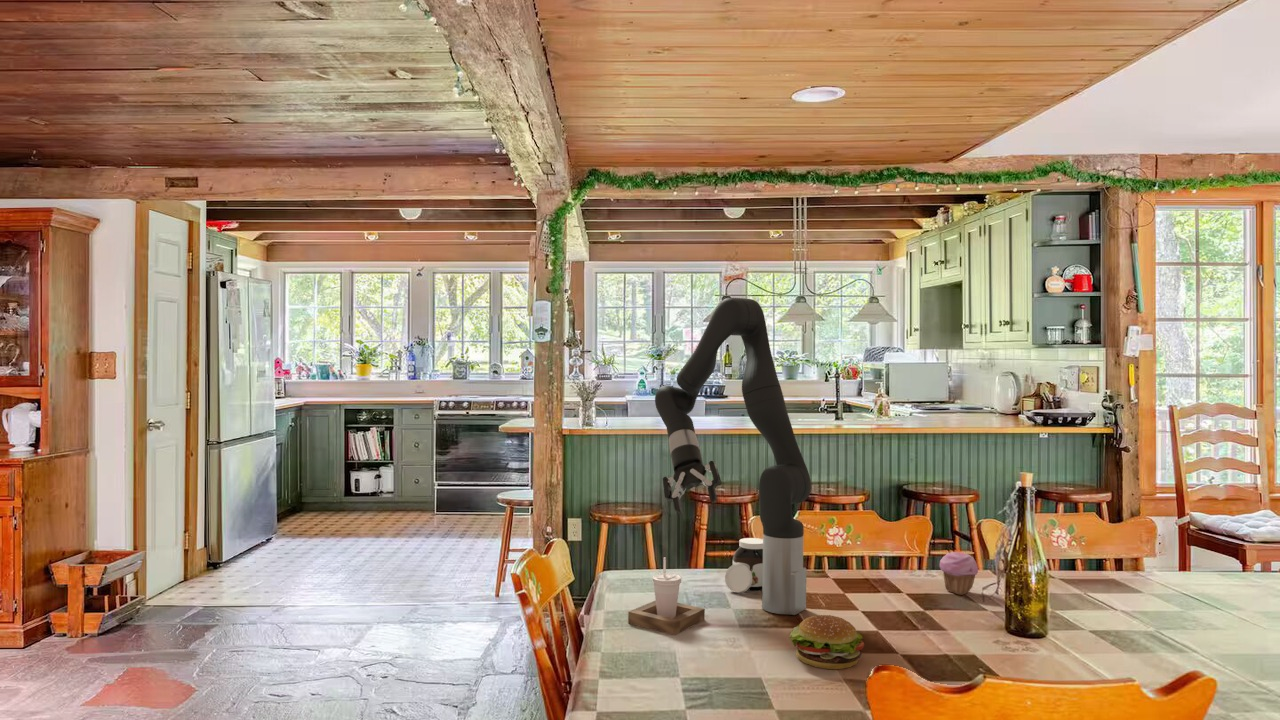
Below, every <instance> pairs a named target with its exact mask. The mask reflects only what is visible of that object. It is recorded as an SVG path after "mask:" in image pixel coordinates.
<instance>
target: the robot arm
mask: <svg viewBox="0 0 1280 720" xmlns="http://www.w3.org/2000/svg"><path fill="white" fill-rule="evenodd" d="M766 323H767V322H766V318H765V314H764V310H763V308H762V306H761V305H760V302H759V303H758V302H757V300H755V299H753V298H744V297H727V298H724V299H723V300H721V301H720V302H719V304H718V305H717V307H716V308H715V310H714V311H713V314H712V315H711V317H710V320H709V322H708V323H707V325H706V328H705V329H704V332H703V333H702V335H701V338H700V340H699V342H698V344H697V346H696V348H695V349H694V351H693V353H692V354H691V355H690V357H689V358H688V360H687V361H686V362H685V364H684V365H683V366H682V368H681V369H680V370H679V372H678V374H677V375H676V383H677V385H678V386H679V387H675V386H671V385H662V386H660V387H659V388H658V389H657V391H656V393H655V397H654V401H655V402H654V403H655V404H654V406H655V409H656V411H657V413H658V415H659V416H660V419H661V420H662V421H663V424H664V425H665V428H666V432H667V437H668V447H669V453H670V458H671V463H672V468H673V476H670V477H667V476H663V478H662V484H663V485H662V487H663V493H664V494H663V495H664V498H665V499H666V500H667V501H668V502H669V503H672V502H673V506H674V510H675V512H677V514H679V515H683V514H684V511H683V506H682V500H681V498H682V497H683V495H684V494H685V492H686V490H690V489H693V488H695V487H696V488H697V487H700V485H701V484H702V485H703V486H705V487H707V493H708V495H709V500H710V502H711V504H716V501H717V500H718V495H717V491H716V488H717V487H719V486H721V485H722V484H723V483H722V480H721V479H722V478H721V476H720V473H719V470H718V466H717V464H716V463H715V461H713V460H710V461H709V462H708V464H705V465H704V462H703V461H704V460H703V458H702V453H701V448H700V444H699V440H698V438H697V435H696V431H695V425H694V422H693V419H692V418H691V416H690V415H688V414H690V413H691V412H692V411H693V410H694V407H695V405H696V402H697V399H698V396H699V393H700V392H701V389H702V387H703V386H704V384H706V382H707V380H709V378H710V377H711V375H712V374H713V372H714V370H715V368H716V363H717V358H718V357H717V356H718V351H719V349H720V347H721V346H722V344H723V343H724V342H725V341H726V340H727V339H729V338H730V337H731V336H740V338H741V340H742V342H743V347H744V350H745V356H746V362H745V363H746V364H745V368H744V371H743V376H742V380H741V393H742V397H743V401H744V404H745V409H746V411H747V415H748V417H749V419H750V421H751V422H752V424H753V425H754V427H755V428H756V429H757V431H759V433H760V434H761V436H762V437H763V438H764V440H765V441H766V442H767V443H768V446H769V447H770V449H771V452H772V454H773V457H774V460H775V464H776V465H771V466H767V467H766V468H765V469H764V470H763V471H762V473H761V475H760V477H759V481H758V504H759V506H758V507H759V519H760V523H761V525H762V539H763V572H762V590H761V592H762V593H761V608H762V610H764V611H766V612H769V613H773V614H777V615H792V616H796V615H798V614H799V613H801V612H803V611H805V610H806V609H807V568H806V567H804V536H805V535H804V532H805V531H804V528H805V527H804V523H803V522H802V521H801V520H798V519H796V518H794V516H793V511H792V510H793V509H792V505H794V504H799V503H802V502H805V501H807V499H809V497H810V494H811V490H812V480H811V476H810V472H809V470H808V467H807V465H806V462H805V460H804V458H803V455H802V452H801V450H800V448H799V444H798V442H797V440H796V436H795V434H794V429H793V427H792V424H791V419H790V416H789V413H788V410H787V407H786V400H785V398H784V395H783V394H784V393H783V391H782V387H781V384H780V382H779V378H778V375H777V370H776V367H775V362H774V360H773V359H774V358H773V355H772V352H771V346H770V341H769V335H768V329H767V324H766ZM707 471H708V472H709V473H711V474H712V478H713V479H711V480H710V479H708V478H707V477H706V473H707ZM674 482H675V486H674ZM673 486H674V490H672V487H673ZM672 491H673V492H672Z"/></svg>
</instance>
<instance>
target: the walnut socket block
mask: <svg viewBox="0 0 1280 720" xmlns="http://www.w3.org/2000/svg"><path fill="white" fill-rule="evenodd" d="M705 610H706V609H705V608H703V607H699V606H694V605H689V604H685V603H680V602H677V609H676V616H675V617H674V618H668V617H664V616H659V615H657V608H656V599H654V600H653V601H650V602H648V603H646V604H643V605H641V606H638V607H636V608H634V609H632V610H630V611H628V614H627V615H628V617H627V619H628V621H627V623H628V624H631V625H634V626H638V627H641V628H646V629H648V630H649V629H650V630H654V631H658V632H661V633H666V634H669V635H673V636H675V635H678V634H679V633H682V632H683V631H686V630H687V629H689V628H691V627H694V626H695V625H698V624H699V623H702V622H704V621H705V617H706V616H705V614H706V613H705Z"/></svg>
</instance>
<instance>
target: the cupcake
mask: <svg viewBox="0 0 1280 720" xmlns="http://www.w3.org/2000/svg"><path fill="white" fill-rule="evenodd" d="M978 567H979V566H978V564H977V561H976V560H975V558H974V557H973V556H971V555H970V554H968V553H964V552H958V551H957V552H948V553H946V554H945V555H943V556H942V558H941V559H940V560H939V569H940V570H941V572H943V580H944V581H943V582H944V587H945V590H947V591H948V592H949V593H950V592H951V593H954V594H956V595H959V596H960V595H961V596H962V595H965V594H968V593H969V592H970V590H971V589H972V588H973V586H974V582H975V578H976V575H978V573H979V568H978Z"/></svg>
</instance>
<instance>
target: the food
mask: <svg viewBox="0 0 1280 720" xmlns="http://www.w3.org/2000/svg"><path fill="white" fill-rule="evenodd" d="M789 639H790V640H791V643H792V644H793V646H794V647H797V648H796V651H795V654H796V657H797V659H799V660H800V661H801V662H803V663H804V664H807V665H809V666H812V667H815V668H820V669H828V670H842V669H848V668H851V667H854V666H855V665H857V663H858V662H859V659H860V658H861V656H862V650H863V648H865V643H864V641H863V639H864V636H863V635H861V634H860V633H859V632H857V629H856V628H855V626H854V625H853V624H852V623H851V622H849V621H847V620H846V619H844V618H842V617H839V616H835V615H828V614H819V615H818V614H815V615H812V616H809V617H808V616H807V617H806V618H804V620H802V621H800V623H799V624H797V626H794V627H793V628H792V630H791V632H790V634H789Z"/></svg>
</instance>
